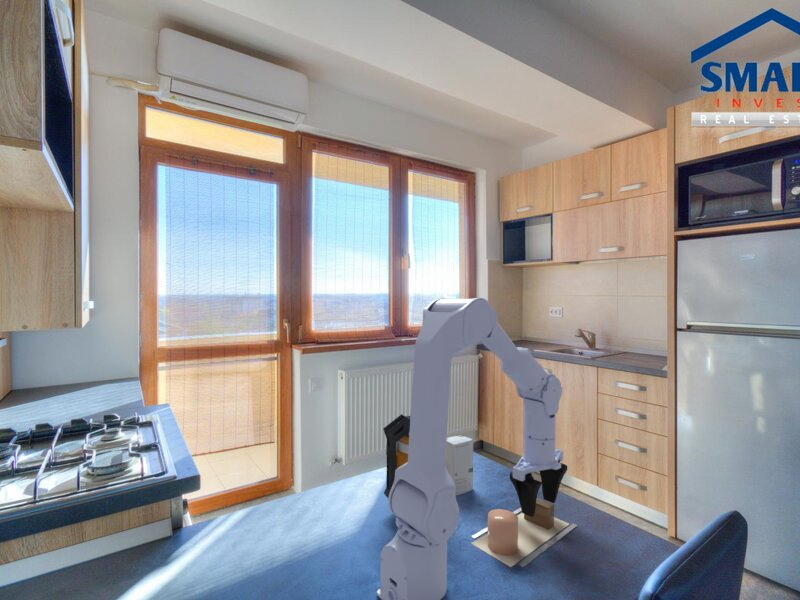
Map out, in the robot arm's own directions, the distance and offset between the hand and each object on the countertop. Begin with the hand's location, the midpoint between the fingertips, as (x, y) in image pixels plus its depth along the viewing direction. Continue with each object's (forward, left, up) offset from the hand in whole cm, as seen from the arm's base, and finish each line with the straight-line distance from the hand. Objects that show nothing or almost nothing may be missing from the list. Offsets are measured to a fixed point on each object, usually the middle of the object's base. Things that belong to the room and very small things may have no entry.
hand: (539, 507), depth 75 cm
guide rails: (-5, 0, -4) cm, 6 cm away
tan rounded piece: (-12, 0, -3) cm, 12 cm away
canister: (-16, +19, -4) cm, 25 cm away
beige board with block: (-6, 0, -4) cm, 7 cm away
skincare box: (-2, +19, -4) cm, 20 cm away
